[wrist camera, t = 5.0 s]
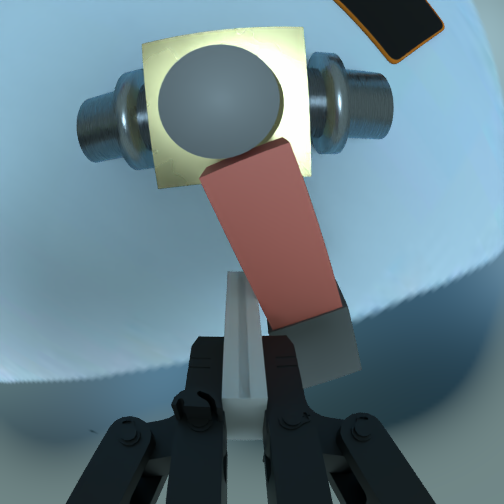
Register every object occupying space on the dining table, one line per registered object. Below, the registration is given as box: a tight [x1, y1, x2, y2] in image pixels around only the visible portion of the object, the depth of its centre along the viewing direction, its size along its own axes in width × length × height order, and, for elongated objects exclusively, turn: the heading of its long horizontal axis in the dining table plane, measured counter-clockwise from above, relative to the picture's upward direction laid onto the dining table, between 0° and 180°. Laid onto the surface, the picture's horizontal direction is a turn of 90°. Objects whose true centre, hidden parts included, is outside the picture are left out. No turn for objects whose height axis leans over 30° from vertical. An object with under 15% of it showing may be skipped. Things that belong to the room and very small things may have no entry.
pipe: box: [77, 27, 393, 189], centre depth 15 cm, size 18×7×8 cm, turn 94°
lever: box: [158, 44, 361, 389], centre depth 12 cm, size 4×15×4 cm, turn 22°
